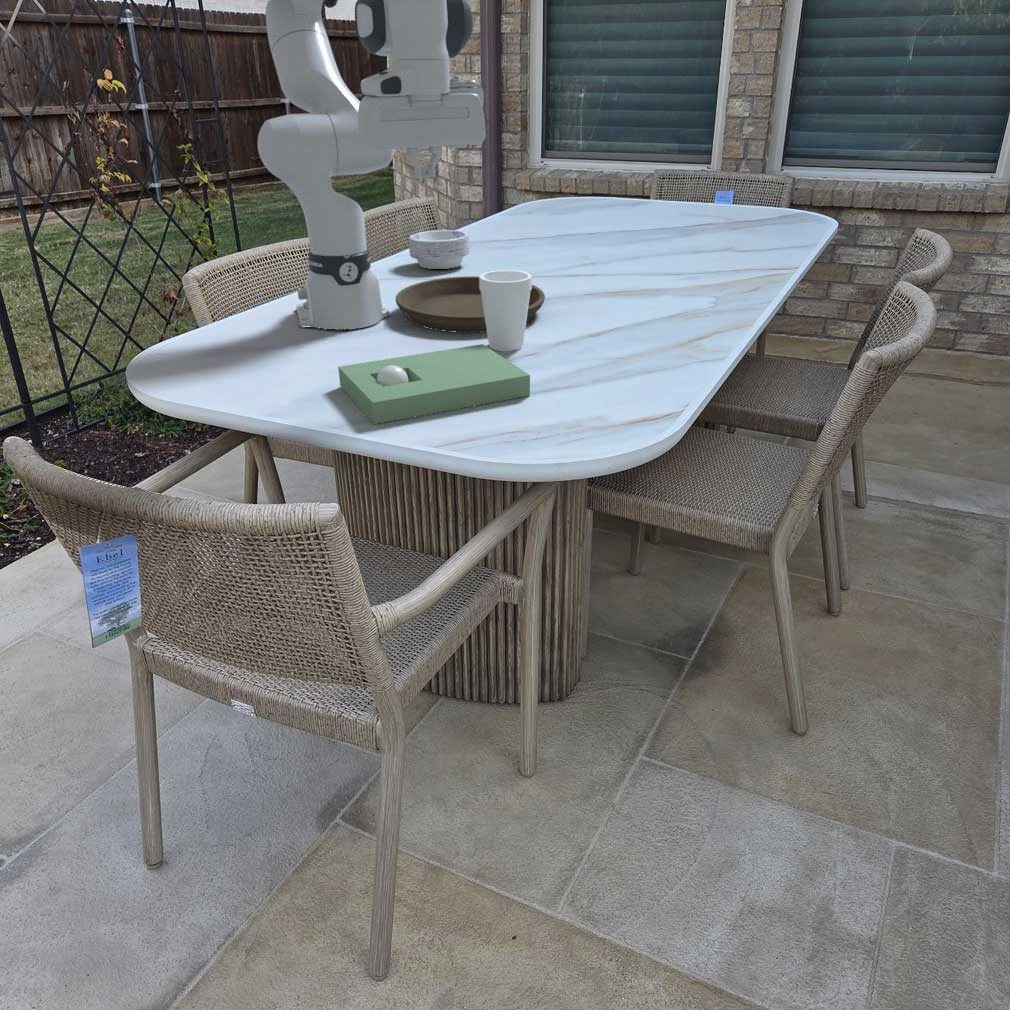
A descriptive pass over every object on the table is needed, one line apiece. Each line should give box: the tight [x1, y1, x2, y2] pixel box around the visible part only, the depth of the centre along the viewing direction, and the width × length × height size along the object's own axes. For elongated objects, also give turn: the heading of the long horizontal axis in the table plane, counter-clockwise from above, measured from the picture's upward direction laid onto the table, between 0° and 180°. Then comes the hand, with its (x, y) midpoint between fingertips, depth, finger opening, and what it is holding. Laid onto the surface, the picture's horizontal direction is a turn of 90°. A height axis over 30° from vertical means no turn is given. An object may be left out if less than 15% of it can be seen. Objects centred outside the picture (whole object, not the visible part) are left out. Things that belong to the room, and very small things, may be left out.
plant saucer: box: [395, 275, 546, 333], centre depth 178 cm, size 31×31×5 cm
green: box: [337, 343, 531, 425], centre depth 138 cm, size 18×26×4 cm
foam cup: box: [478, 269, 533, 352], centre depth 157 cm, size 10×9×13 cm
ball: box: [377, 365, 409, 386], centre depth 135 cm, size 5×5×5 cm
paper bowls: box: [408, 229, 470, 270], centre depth 217 cm, size 15×15×8 cm
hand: (425, 178), depth 136 cm, fingers closed
